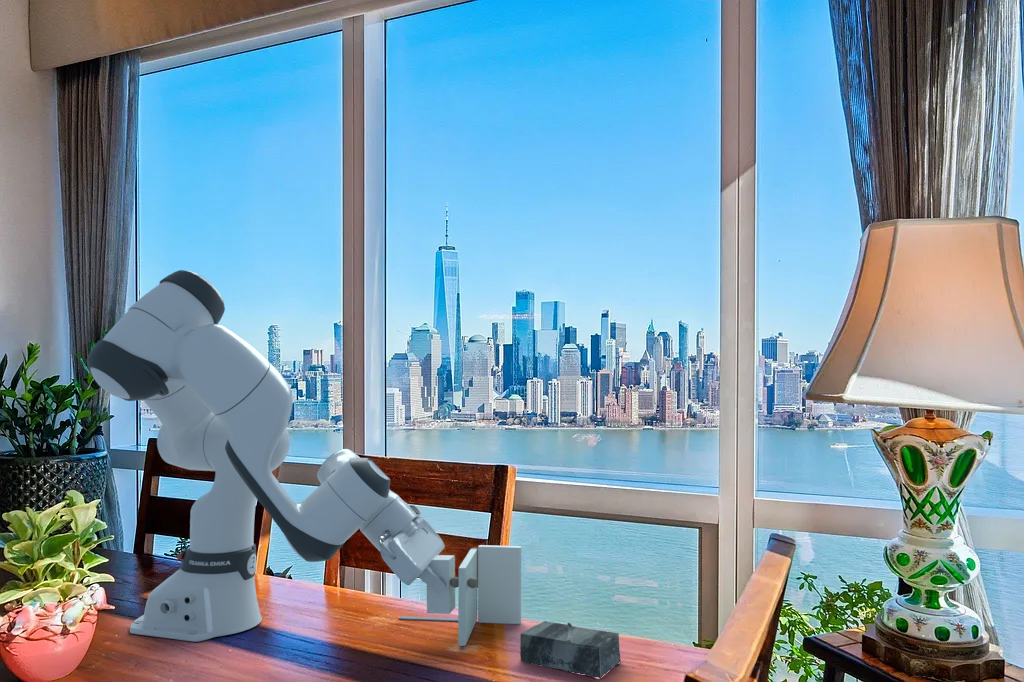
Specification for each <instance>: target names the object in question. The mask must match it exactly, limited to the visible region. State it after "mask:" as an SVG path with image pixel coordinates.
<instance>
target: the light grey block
mask: <svg viewBox="0 0 1024 682" xmlns="http://www.w3.org/2000/svg"><path fill="white" fill-rule="evenodd" d="M429 567H430V568H431V569H432V570H433V571H432V572H433V573H434V574H435V575H437V576H438V577H439V578H440V577H441V578H442V579H443V580H444V581H445V582H446V584H447V585H446V587H445V588H444V590H442V591H441V592H440V593H437V592H436V591H435V590H434V589H433V588H432V586H429V585H428V584H426V614H443V615H444V614H446V615H449V614H451V613H452V612H453V611H454V610H455V609H456V588H454V587H452V586H451V585H450V580H451V579H452V578H453V577H456V556H455V555H454V554H453V555H448V554H444V555H443V554H438V555H437V556H436V557H434V558H433V559H432V562H431V563H430V564H429Z"/></svg>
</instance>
